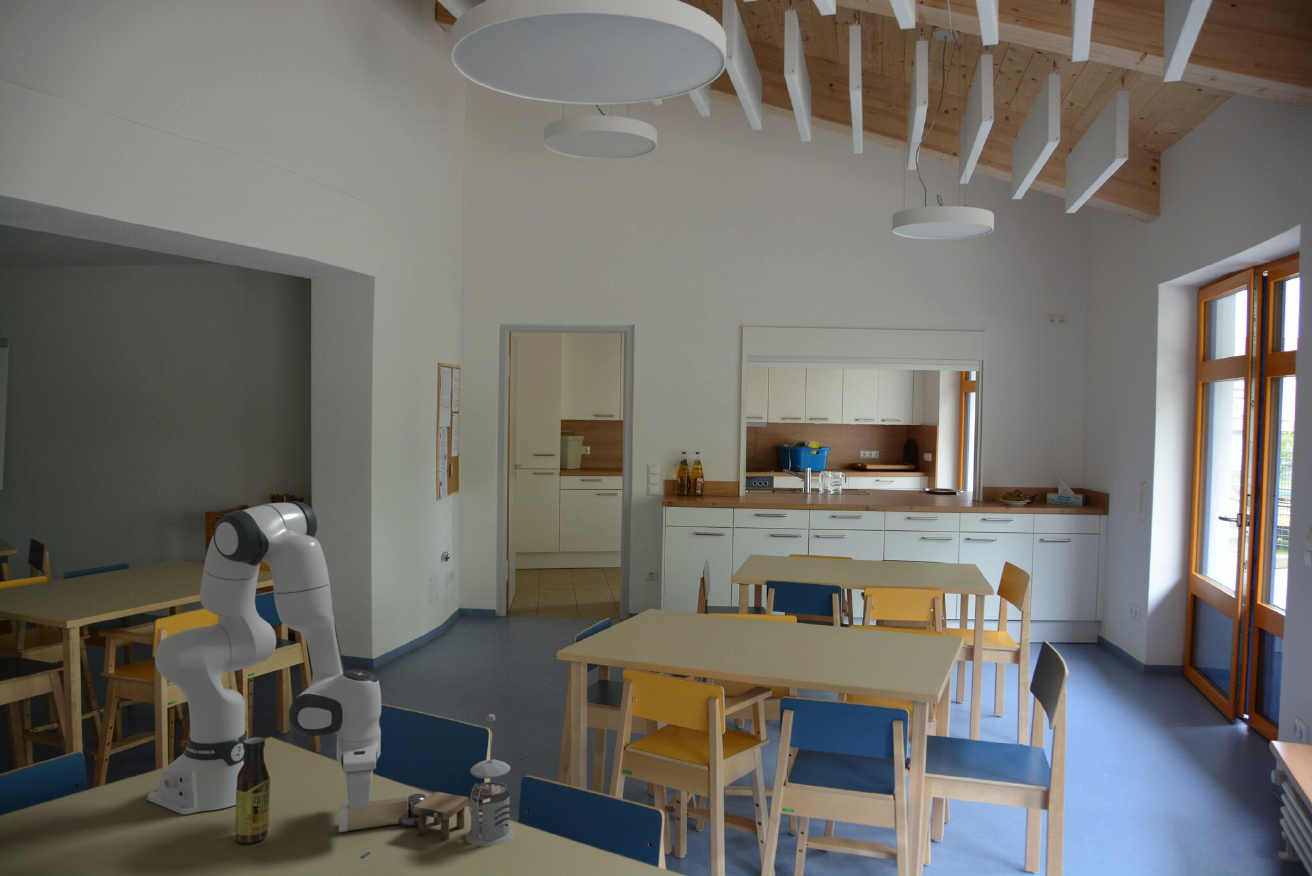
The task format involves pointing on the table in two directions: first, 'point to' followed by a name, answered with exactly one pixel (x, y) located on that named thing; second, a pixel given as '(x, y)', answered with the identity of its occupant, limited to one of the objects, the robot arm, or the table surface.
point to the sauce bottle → (252, 794)
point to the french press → (489, 803)
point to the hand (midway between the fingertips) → (357, 813)
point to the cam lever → (381, 813)
